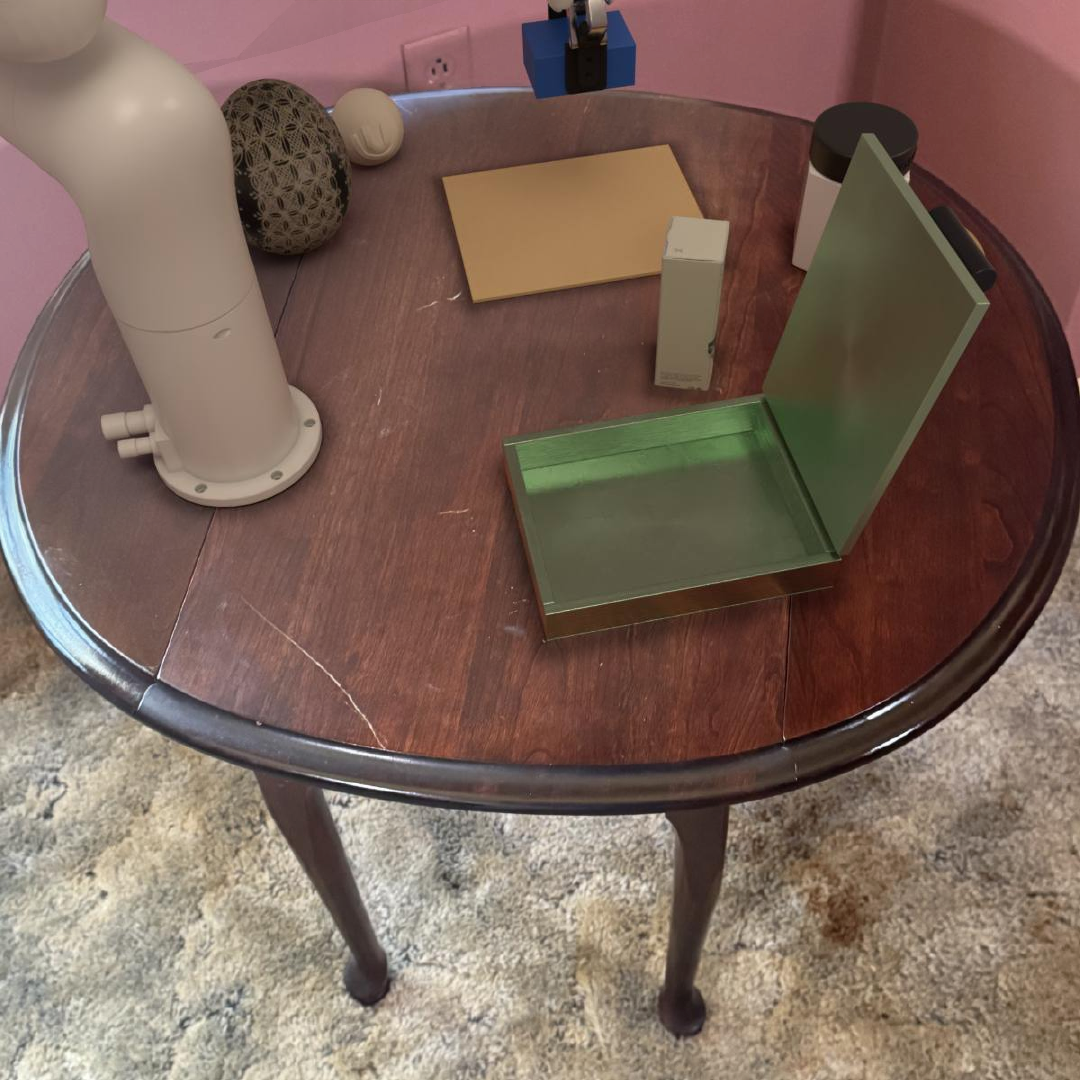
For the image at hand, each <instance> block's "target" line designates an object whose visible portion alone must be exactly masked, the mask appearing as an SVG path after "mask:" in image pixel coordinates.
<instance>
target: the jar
mask: <svg viewBox="0 0 1080 1080" xmlns="http://www.w3.org/2000/svg"><path fill="white" fill-rule="evenodd" d="M862 133H873V134H874V135H875V136H876V138H877V139H878V141H879V142H880V144H881V145H882V146H883V148H884V149H885V151H886V152H887V154H888V155H889V157H890V158H891V160H892V161H893V162H894V164H895V165H896V167H897V168H898V170H899V171H900V173H901V174H902V176H903V177H904V178H905V180H906V181H907V183H908V184H909V185H910V181H911V179H910V177H911V174H910V171H911V167H912V164H913V162H914V161H915V157H916V154H917V150H918V142H919V137H920V136H919V135H920V134H919V130H918V127H917V125H916V123H915V122H914V120H913V119H912V118H910V117H909V116H908V115H907V114H906V113H904V112H902V111H901V110H898V109H896V108H895V107H893V106H889V105H886V104H883V103H882V104H881V103H879V102H872V101H849V102H842V103H839V104H835V105H832V106H830V107H828V108H826V109H825V110H823V111H822V112H821V113H820V114H819V115H818V116H817V117H816V118H815V121H814V123H813V126H812V131H811V138H810V143H809V148H808V154H807V160H806V165H805V170H804V175H803V181H802V188H801V191H800V197H799V203H798V208H797V214H796V215H797V216H796V220H795V225H794V232H793V243H792V254H791V255H792V256H791V265H792V266H794V267H796V268H799V269H800V270H803V271H805V272H807V271H808V269H809V266H810V264H811V261H812V259H813V256H814V254H815V251H816V249H817V246H818V244H819V241H820V239H821V236H822V233H823V231H824V228H825V226H826V223H827V221H828V218H829V216H830V213H831V211H832V208H833V206H834V203H835V201H836V198H837V196H838V193H839V190H840V188H841V185H842V183H843V180H844V178H845V175H846V173H847V170H848V168H849V165H850V163H851V160H852V158H853V155H854V153H855V150H856V147H857V145H858V142H859V140H860V137H861V135H862Z"/></svg>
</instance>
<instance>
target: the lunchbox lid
mask: <svg viewBox="0 0 1080 1080" xmlns="http://www.w3.org/2000/svg"><path fill="white" fill-rule="evenodd" d="M965 228H966V227H965V226H964V225H963V223H962V221H961V220H960V219H959V218H958V216H957V215H956V213H955V212H954V210H953V209H952V207H951V206H949V205H947V204H946V205H945V204H941V205H937V206H935V207H933V208H931V209H930V210H929V211H928V210H927V209H926V207H925V206H924V205H923V204H922V202H921V200H920V199H919V197H918V196H917V194H916V193H915V192H914V190H913V189H912V187H911V185H910V183H909V184H908V183H907V181H906V180H905V178H904V177H903V176H902V174H901V173H900V171H899V170H898V168H897V167H896V165H895V164H894V162H893V161H892V160H891V158H890V157H889V155H888V154H887V152H886V151H885V149H884V148H883V146H882V145H881V144H880V142H879V141H878V139H877V138H876V136H875V135H874V134H873V133H862V135H861V137H860V140H859V142H858V145H857V147H856V150H855V153H854V155H853V158H852V160H851V163H850V165H849V168H848V170H847V173H846V175H845V178H844V180H843V183H842V185H841V188H840V190H839V193H838V196H837V198H836V201H835V203H834V206H833V208H832V211H831V213H830V216H829V218H828V221H827V223H826V226H825V228H824V231H823V233H822V236H821V239H820V241H819V244H818V246H817V249H816V251H815V254H814V256H813V259H812V261H811V264H810V266H809V269H808V271H806V274H805V276H804V278H803V282H802V284H801V287H800V289H799V292H798V294H797V297H796V299H795V302H794V304H793V307H792V310H791V312H790V314H789V317H788V320H787V322H786V325H785V327H784V331H783V332H782V335H781V338H780V340H779V341H778V342H779V343H778V345H777V347H776V350H775V353H774V355H773V358H772V360H771V363H770V365H769V368H768V370H767V373H766V375H765V378H764V380H763V383H762V385H761V391H762V393H764V395H765V397H766V400H767V402H768V404H769V406H770V408H771V410H772V413H773V415H774V417H775V419H776V421H777V423H778V426H779V428H780V430H781V432H782V434H783V436H784V439H785V441H786V443H787V445H788V447H789V449H790V452H791V454H792V456H793V458H794V460H795V462H796V465H797V467H798V469H799V471H800V473H801V475H802V478H803V480H804V482H805V484H806V486H807V489H808V491H809V493H810V495H811V497H812V499H813V502H814V504H815V506H816V508H817V510H818V512H819V515H820V517H821V519H822V521H823V523H824V525H825V528H826V530H827V532H828V534H829V536H830V538H831V541H832V543H833V545H834V547H835V549H836V551H837V554H838V555H840V556H848V555H850V554H851V552H852V551H853V548H854V546H855V545H856V543H857V541H858V539H859V538H860V536H861V534H862V532H863V531H864V529H865V527H866V525H867V523H868V522H869V520H870V518H871V516H872V515H873V513H874V512H875V510H876V508H877V506H878V504H879V502H880V500H881V499H882V497H883V496H884V494H885V492H886V490H887V488H888V486H889V484H890V483H891V481H892V479H893V477H894V475H895V474H896V472H897V470H898V469H899V468H900V465H901V463H902V462H903V460H904V458H905V456H906V455H907V453H908V451H909V450H910V447H911V446H912V444H913V442H914V440H915V438H916V436H917V435H918V433H919V432H920V430H921V428H922V426H923V425H924V422H925V421H926V419H927V417H928V416H929V414H930V412H931V410H932V409H933V407H934V405H935V403H936V401H937V400H938V398H939V396H940V394H941V393H942V391H943V389H944V387H945V385H946V384H947V382H948V380H949V378H950V377H951V375H952V373H953V371H954V369H955V368H956V366H957V364H958V362H959V360H960V359H961V357H962V355H963V354H964V352H965V350H966V348H967V347H968V345H969V344H970V343H969V342H970V341H971V340H972V338H973V335H974V334H975V332H976V331H977V328H978V327H979V325H980V323H981V321H982V320H983V319H984V316H985V315H986V313H987V311H988V310H989V308H990V306H991V302H990V300H989V299H988V298H987V296H986V295H985V293H987V292H988V291H989V290H990V289H992V288H993V287H994V285H995V284H996V282H997V281H998V272H997V271H996V269H995V268H994V266H993V265H992V264H991V262H990V260H989V259H988V258H987V257H986V254H985V255H984V254H983V253H982V251H981V250H980V248H979V247H978V246H977V244H976V243H975V241H974V240H973V238H972V237H971V236H970V234H969V233H968V231H967V230H966V229H967V228H966V229H965ZM984 292H985V293H984Z"/></svg>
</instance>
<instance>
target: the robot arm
mask: <svg viewBox="0 0 1080 1080" xmlns="http://www.w3.org/2000/svg"><path fill="white" fill-rule="evenodd" d="M108 1H109V0H0V138H2V139H3V140H5V141H6V142H7V143H8V144H9V145H11V146H12V147H13V148H15V149H16V150H18V152H20V153H22V154H23V155H24V156H25V157H27V158H28V159H30V161H32V162H33V163H34V164H35V165H36V166H37V167H38V168H40V169H41V171H43V172H45V173H46V175H49V176H50V177H51V178H52V179H54V180H55V182H57V183H58V184H60V186H62V187H63V189H64V190H65V191H66V192H67V193H68V195H69V196H70V198H71V199H72V200H73V202H74V204H75V205H76V207H77V208H78V211H79V212H80V215H81V217H82V220H83V223H84V227H85V233H86V240H87V249H88V254H89V259H90V262H91V264H92V269H93V271H94V273H95V277H96V280H97V282H98V284H99V287H100V289H101V292H102V295H103V296H104V299H105V301H106V303H107V305H108V308H109V309H110V312H111V313H112V315H113V318H114V321H115V323H116V324H117V326H118V329H119V332H120V334H121V336H122V339H123V340H124V343H125V345H126V348H127V350H128V352H129V354H130V357H131V359H132V362H133V364H134V366H135V368H136V370H137V372H138V375H139V377H140V380H141V382H142V384H143V387H144V388H145V391H146V393H147V396H148V398H149V400H150V402H151V403H146V404H144V405H143V408H142V410H135V411H119V412H114V413H107V414H102V415H100V426H101V431H102V434H103V437H104V438H105V440H106V441H115V440H117V444H116V445H117V452H118V455H119V458H120V459H122V460H124V459H130V458H136V457H140V456H141V455H148V454H152V456H153V457H152V458H153V462H154V465H155V468H156V471H157V473H158V475H159V477H160V479H161V480H162V481H163V483H164V484H165V486H166V487H167V488H168V489H169V490H171V491H172V492H173V493H174V494H175V495H177V496H178V497H180V498H182V499H183V500H186V501H187V502H191V503H194V504H197V505H200V506H207V507H214V508H233V507H235V508H236V507H241V506H247V505H252V504H255V503H257V502H261V501H264V500H268V499H269V498H271V497H274V496H276V495H278V494H280V493H282V492H284V491H285V490H286V489H287V488H290V487H291V486H292V485H293V484H295V483H296V482H297V481H299V480H300V479H301V478H302V477H303V476H304V475H305V474H306V473H307V472H308V471H309V469H310V468H311V467H312V465H313V464H314V463H315V461H316V459H317V457H318V454H319V452H320V450H321V446H322V441H323V426H322V422H321V419H320V415H319V412H318V410H317V408H316V405H315V403H314V402H313V401H312V400H311V398H309V396H308V395H306V393H304V392H302V390H300V389H299V388H297V387H295V386H293V385H291V384H289V382H288V379H287V375H286V372H285V369H284V365H283V362H282V359H281V354H280V352H279V349H278V344H277V342H276V339H275V335H274V331H273V327H272V324H271V322H270V318H269V315H268V311H267V307H266V304H265V301H264V297H263V294H262V291H261V287H260V284H259V280H258V277H257V273H256V270H255V266H254V263H253V260H252V258H251V254H250V250H249V247H248V242H247V241H246V239H245V236H244V232H243V228H242V224H241V219H240V215H239V211H238V205H237V200H236V193H235V185H234V171H233V156H232V146H231V140H230V134H229V130H228V127H227V123H226V120H225V118H224V115H223V113H222V111H221V109H220V108H221V106H220V105H219V103H218V102H217V100H216V98H215V97H214V96H213V94H212V93H211V92H210V90H209V89H208V87H206V85H205V84H204V83H203V82H202V81H201V80H200V78H198V77H197V76H196V75H195V74H194V72H192V71H191V70H190V69H189V68H188V67H186V66H185V65H184V64H183V63H182V62H180V61H179V59H176V58H175V57H174V56H172V55H171V54H169V53H168V52H167V51H165V50H163V49H162V48H161V47H159V46H158V45H156V44H154V43H152V42H151V41H149V40H148V39H146V38H144V37H143V36H142V35H140V34H138V33H137V32H135V31H133V30H131V29H129V28H128V27H126V26H124V25H121V24H119V22H117V21H114V20H113V19H111V18H110V17H108V16H106V13H107V9H108ZM614 1H615V0H546V2H547V20H551V19H558V18H565V17H567V26H568V38H569V43H565V88H566V91H567V93H568V94H570V95H569V96H574V95H580V94H581V95H582V94H586V93H593V92H600V91H605V90H606V89H605V88H606V86H607V25H608V23H607V14H606V12H607V8H606V7H607V6H610V5H612V4H613V3H614ZM606 5H607V6H606ZM580 15H586V18H585V21H581V22H580V24H579V26H578V28H577V17H576V16H580ZM604 89H605V90H604ZM147 433H148V435H149V436H144V437H133V436H136V435H140V434H141V435H142V434H147ZM132 437H133V438H132ZM125 438H126V439H125ZM120 439H121V440H120Z"/></svg>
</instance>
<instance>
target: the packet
mask: <svg viewBox="0 0 1080 1080" xmlns="http://www.w3.org/2000/svg"><path fill="white" fill-rule="evenodd" d="M606 14H607V23H608V25H607V86H606V88H605V89H604V90H603V91H605V90H611V89H618V88H625V87H633V86H636V65H637V62H636V61H637V44H636V41H635V39H634V37H633V35H632V33H631V31H630V29H629V26H628V25H627V23H626V21H625V19H624V17H623V15H622V13H621V11H620V9H618V10H611V11H609V10H608V11H606ZM576 17H577V28H578V26H579V24H580V22H581V21H585V18H586V15H580V16H576ZM521 43H522V62H523V63H522V64H523V66H524V69H525V72H526V74H527V77H528V80H529V82H530V85H531V89H532V90H533V94H534V96H535V99H536V100H541V99H549V98H555V97H563V96H568V95H569V96H571V95H570V94H568V93H567V91H566V88H565V43H569V38H568V26H567V17H565V18H558V19H551V20H548V19H545V20H537V21H530V22H529V21H528V22H523V23H521Z"/></svg>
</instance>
